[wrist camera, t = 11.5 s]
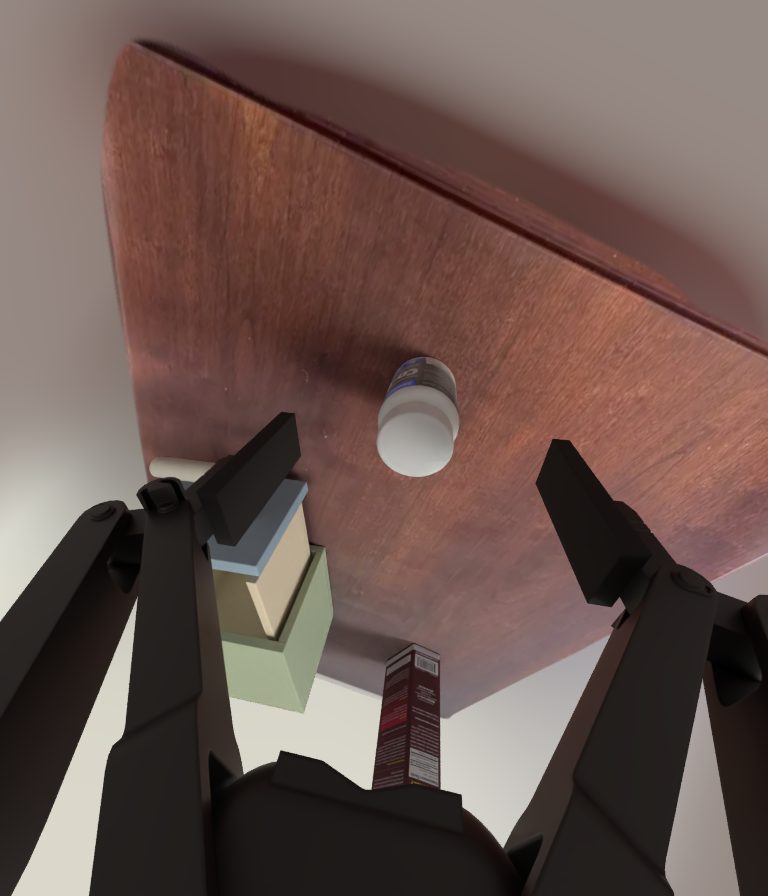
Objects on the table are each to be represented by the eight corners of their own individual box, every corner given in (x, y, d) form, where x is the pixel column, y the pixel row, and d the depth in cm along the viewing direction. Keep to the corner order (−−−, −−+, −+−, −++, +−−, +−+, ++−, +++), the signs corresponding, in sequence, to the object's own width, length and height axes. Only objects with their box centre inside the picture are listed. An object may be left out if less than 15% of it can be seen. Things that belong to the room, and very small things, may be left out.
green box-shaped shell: (224, 531, 36) (149, 626, 26) (325, 546, 34) (282, 653, 25) (251, 599, 44) (200, 690, 34) (333, 614, 42) (303, 713, 33)
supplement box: (411, 671, 48) (400, 828, 35) (385, 660, 47) (364, 816, 34) (442, 654, 43) (443, 828, 30) (414, 641, 43) (402, 813, 29)
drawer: (179, 422, 27) (71, 489, 19) (300, 435, 25) (237, 514, 17) (231, 554, 37) (175, 634, 29) (320, 569, 35) (286, 656, 27)
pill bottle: (412, 342, 20) (398, 386, 14) (468, 377, 21) (482, 436, 14) (380, 396, 23) (354, 456, 16) (431, 426, 24) (427, 496, 17)
